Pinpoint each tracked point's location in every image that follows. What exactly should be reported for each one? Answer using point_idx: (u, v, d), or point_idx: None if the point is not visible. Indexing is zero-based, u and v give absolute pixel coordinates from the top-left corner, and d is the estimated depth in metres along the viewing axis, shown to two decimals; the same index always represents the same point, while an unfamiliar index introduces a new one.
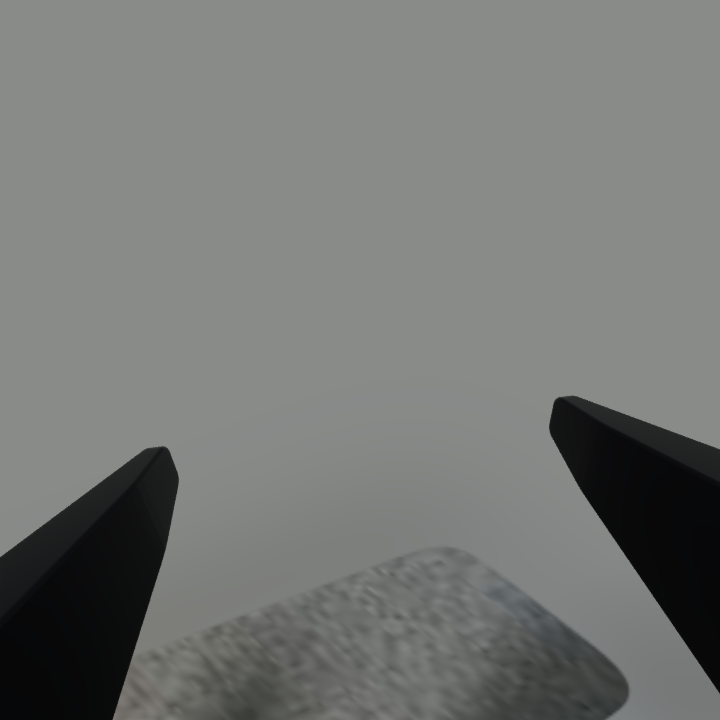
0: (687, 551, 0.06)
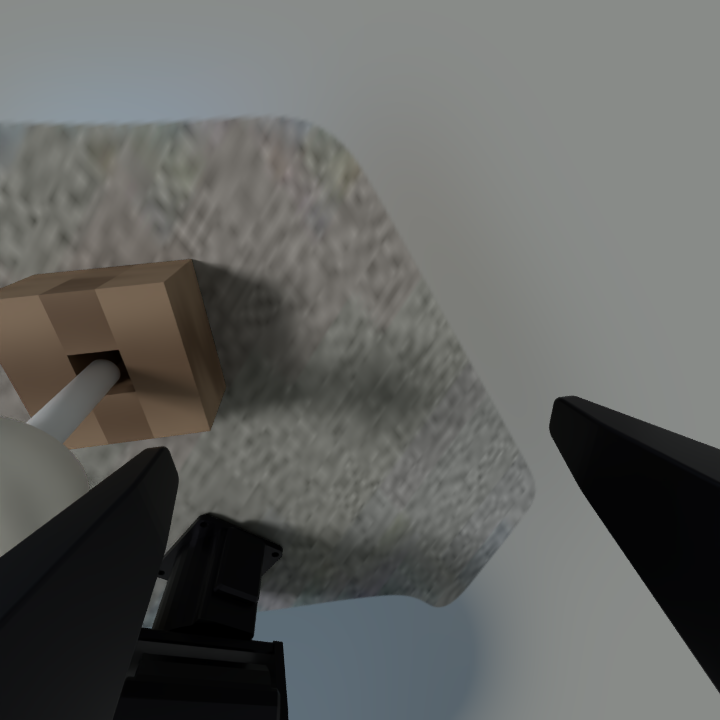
0: (687, 551, 0.06)
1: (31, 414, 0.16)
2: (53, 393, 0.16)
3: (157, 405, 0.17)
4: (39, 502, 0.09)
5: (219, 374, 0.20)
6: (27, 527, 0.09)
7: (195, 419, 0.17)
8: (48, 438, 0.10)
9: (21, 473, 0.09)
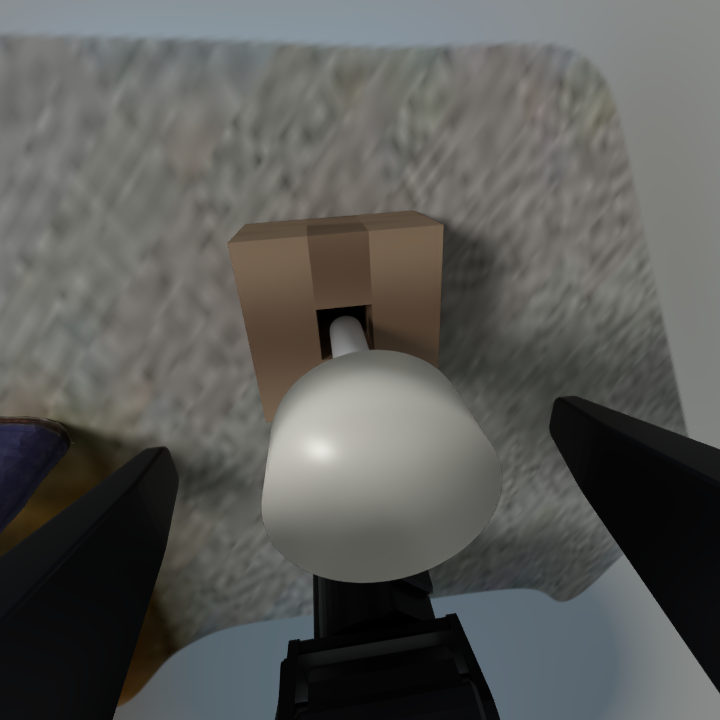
0: (687, 551, 0.06)
1: (258, 378, 0.15)
2: (288, 354, 0.14)
3: None
4: None
5: None
6: (489, 489, 0.07)
7: None
8: None
9: (476, 422, 0.07)
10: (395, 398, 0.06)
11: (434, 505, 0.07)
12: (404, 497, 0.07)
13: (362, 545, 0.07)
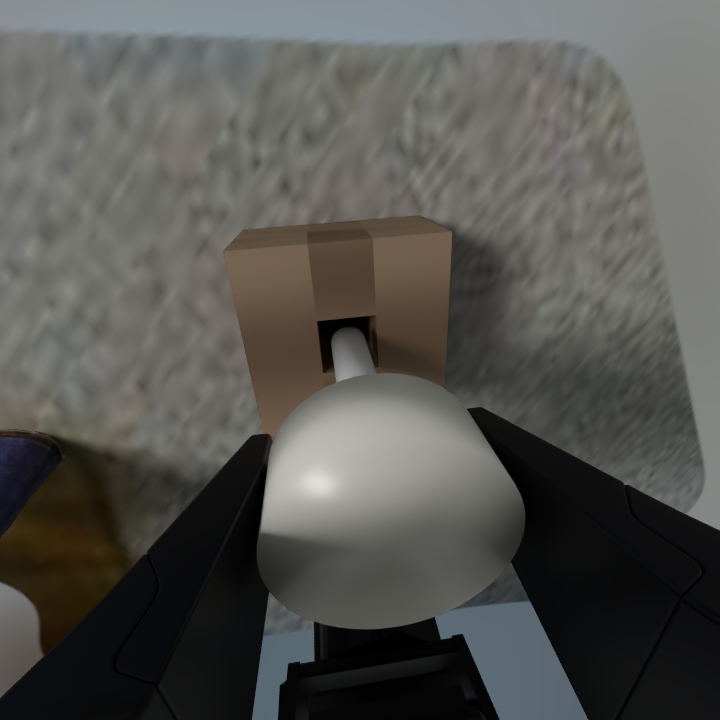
0: (557, 572, 0.06)
1: (256, 392, 0.14)
2: (288, 367, 0.13)
3: None
4: None
5: None
6: (510, 530, 0.06)
7: None
8: (467, 410, 0.08)
9: (495, 455, 0.07)
10: (407, 434, 0.05)
11: (449, 548, 0.06)
12: (416, 540, 0.06)
13: (368, 591, 0.07)
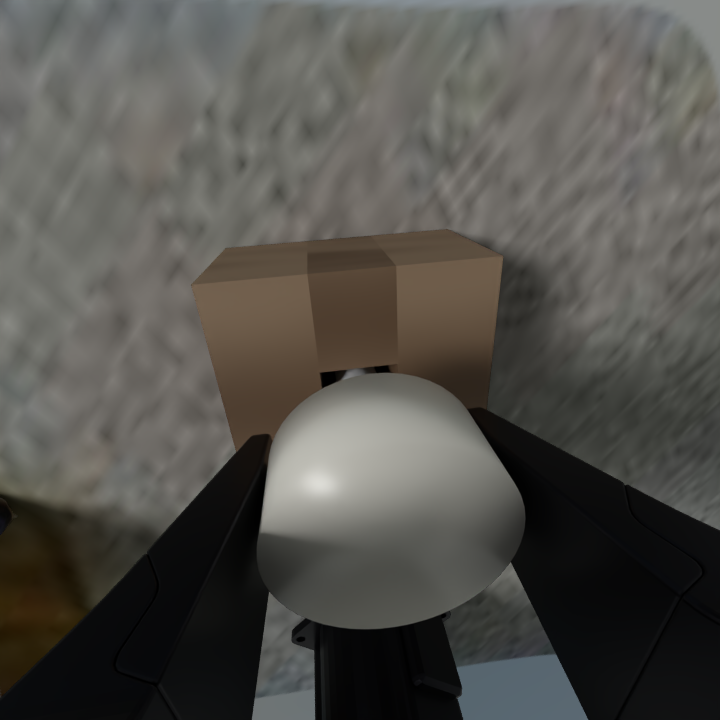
0: (557, 572, 0.06)
1: None
2: None
3: None
4: None
5: None
6: (510, 530, 0.06)
7: None
8: (467, 410, 0.08)
9: (495, 455, 0.07)
10: (407, 434, 0.05)
11: (449, 548, 0.06)
12: (416, 540, 0.06)
13: (369, 591, 0.07)
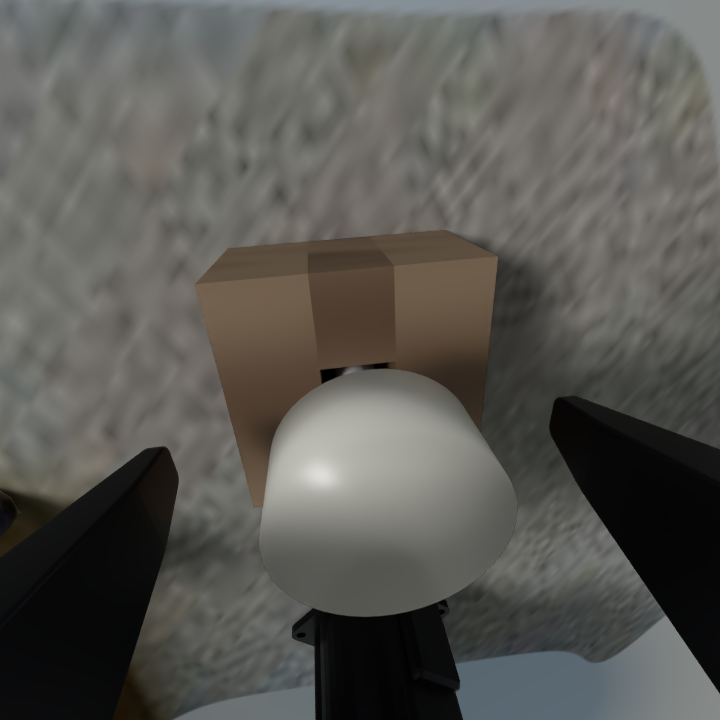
0: (687, 551, 0.06)
1: (243, 456, 0.11)
2: None
3: None
4: None
5: None
6: (503, 520, 0.07)
7: None
8: (462, 405, 0.08)
9: (489, 447, 0.07)
10: (403, 426, 0.06)
11: (444, 537, 0.07)
12: (412, 529, 0.07)
13: (367, 578, 0.07)
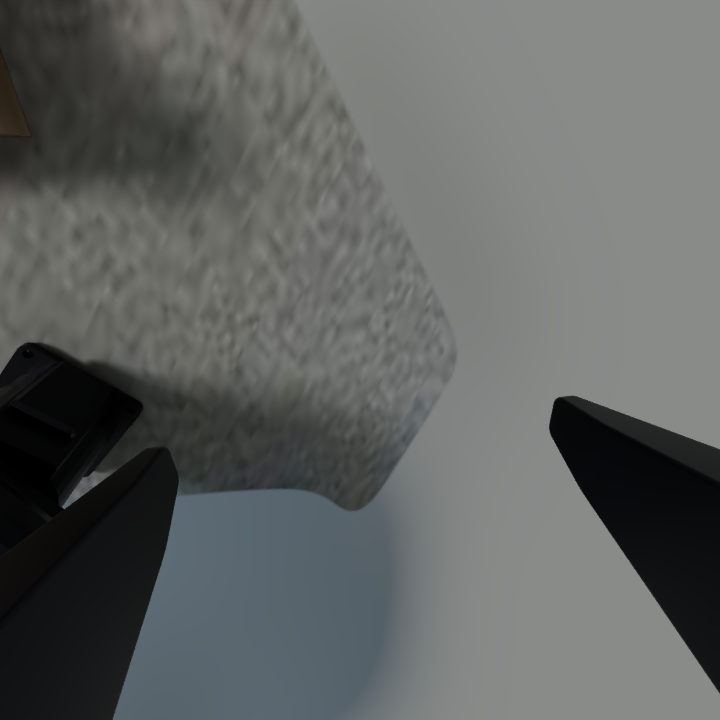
0: (687, 551, 0.06)
1: None
2: None
3: None
4: None
5: (12, 104, 0.15)
6: None
7: None
8: None
9: None
10: None
11: None
12: None
13: None
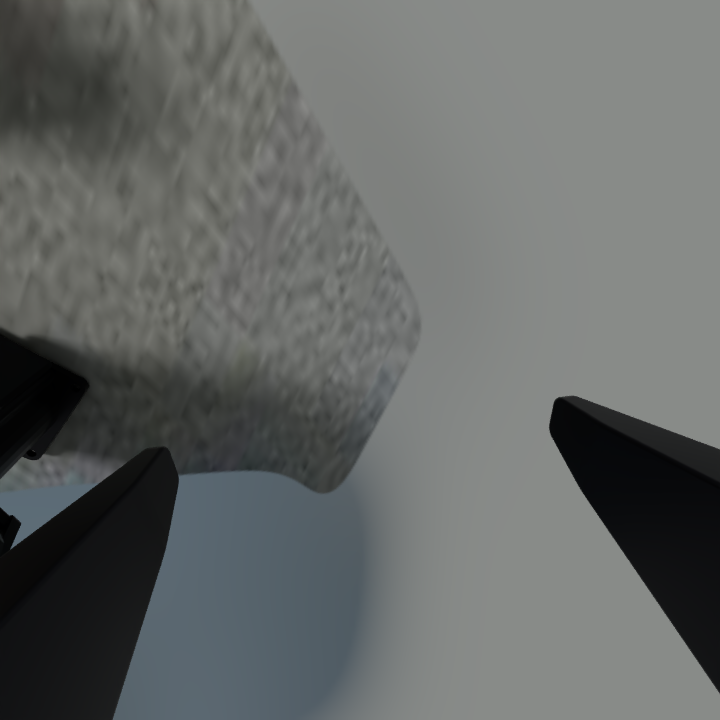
0: (687, 551, 0.06)
1: None
2: None
3: None
4: None
5: None
6: None
7: None
8: None
9: None
10: None
11: None
12: None
13: None
